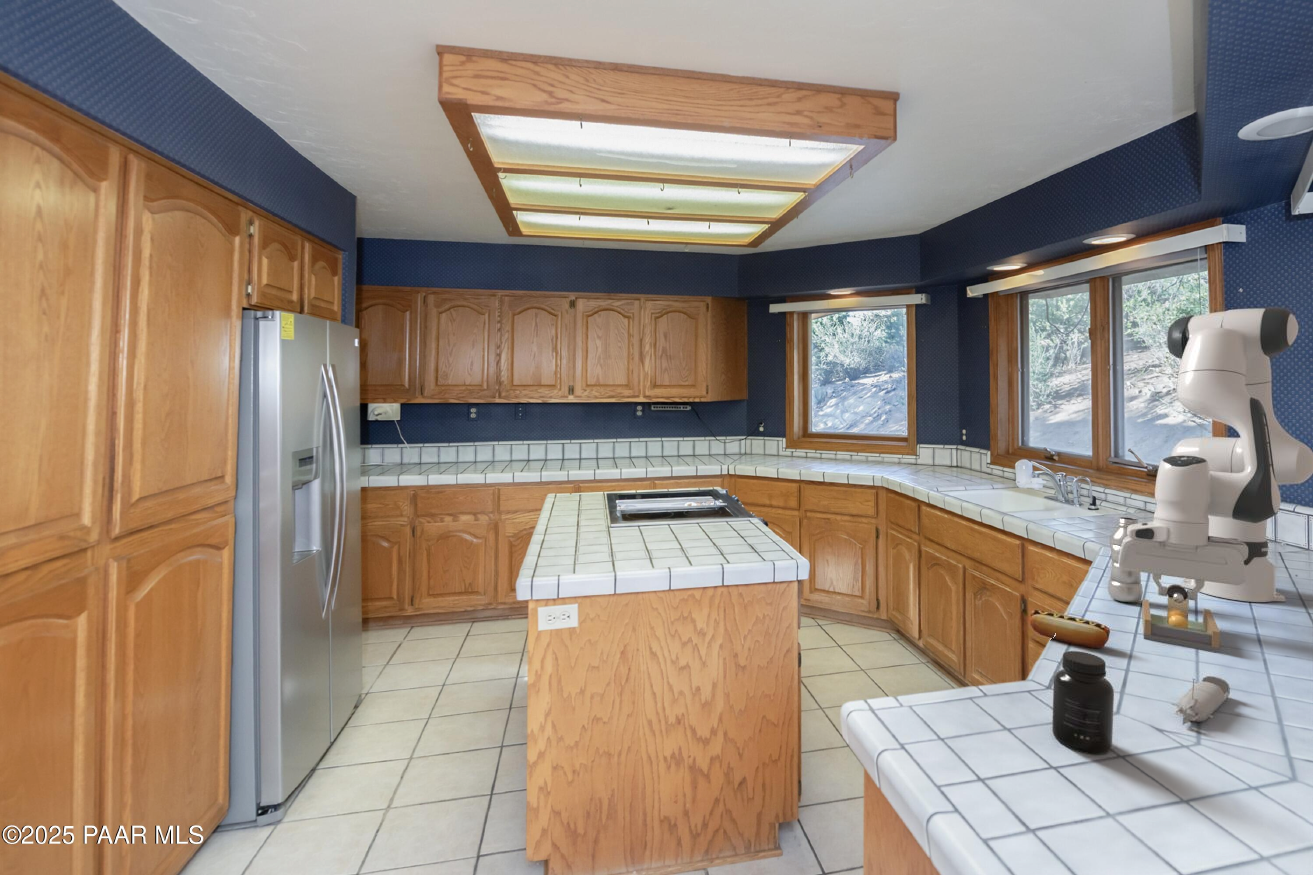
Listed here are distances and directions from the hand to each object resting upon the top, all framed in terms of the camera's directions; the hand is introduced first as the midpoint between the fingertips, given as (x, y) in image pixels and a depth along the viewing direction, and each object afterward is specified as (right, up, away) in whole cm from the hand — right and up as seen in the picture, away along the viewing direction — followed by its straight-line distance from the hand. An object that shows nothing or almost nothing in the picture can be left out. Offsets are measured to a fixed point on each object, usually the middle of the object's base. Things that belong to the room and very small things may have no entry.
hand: (1176, 597), depth 127 cm
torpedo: (-27, -8, -35) cm, 45 cm away
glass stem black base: (-1, -5, -1) cm, 5 cm away
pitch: (-3, -6, -4) cm, 8 cm away
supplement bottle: (-52, -9, -44) cm, 68 cm away
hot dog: (-29, -7, -8) cm, 31 cm away
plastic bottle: (+2, -5, +16) cm, 17 cm away
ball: (-4, -4, -5) cm, 7 cm away
